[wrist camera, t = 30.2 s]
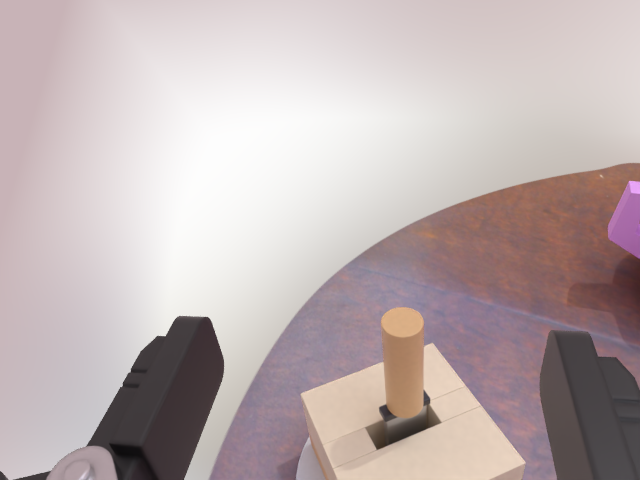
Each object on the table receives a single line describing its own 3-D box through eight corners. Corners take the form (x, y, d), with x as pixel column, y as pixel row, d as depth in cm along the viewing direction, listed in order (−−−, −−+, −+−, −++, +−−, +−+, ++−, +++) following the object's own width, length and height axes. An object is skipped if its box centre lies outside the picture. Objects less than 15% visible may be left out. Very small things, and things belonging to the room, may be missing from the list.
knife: (393, 486, 39) (385, 345, 30) (378, 457, 41) (366, 317, 32) (435, 467, 40) (439, 325, 31) (418, 440, 42) (417, 299, 33)
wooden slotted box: (369, 585, 36) (362, 538, 32) (310, 443, 45) (300, 393, 41) (515, 514, 39) (526, 462, 35) (431, 394, 48) (432, 342, 44)
